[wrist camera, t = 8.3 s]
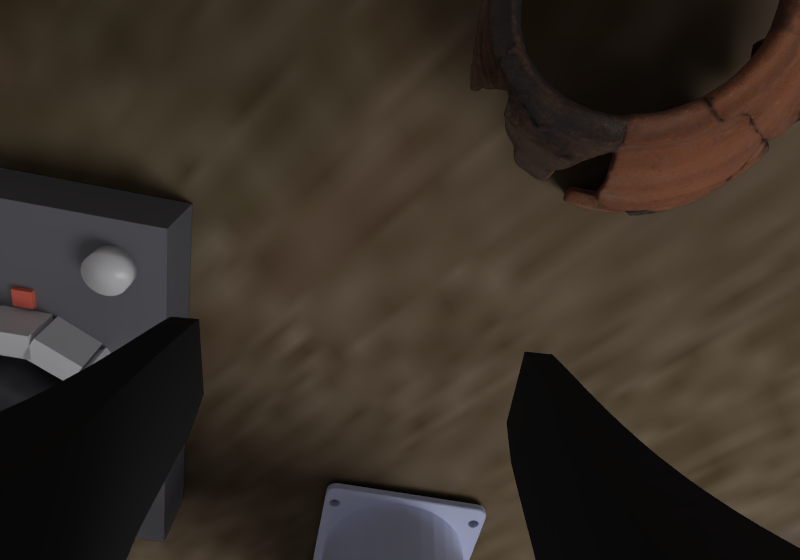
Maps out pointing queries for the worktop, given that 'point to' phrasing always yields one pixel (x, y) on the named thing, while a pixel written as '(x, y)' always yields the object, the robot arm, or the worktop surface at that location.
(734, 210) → the worktop surface
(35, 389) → the lens
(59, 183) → the camera body
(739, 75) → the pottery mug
